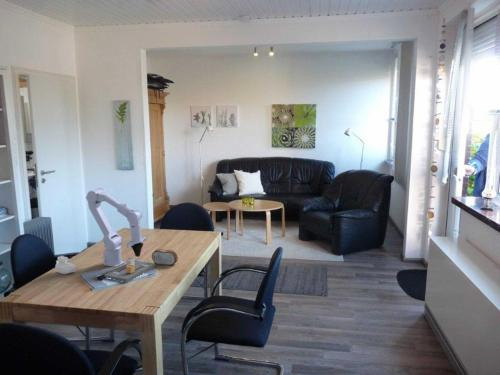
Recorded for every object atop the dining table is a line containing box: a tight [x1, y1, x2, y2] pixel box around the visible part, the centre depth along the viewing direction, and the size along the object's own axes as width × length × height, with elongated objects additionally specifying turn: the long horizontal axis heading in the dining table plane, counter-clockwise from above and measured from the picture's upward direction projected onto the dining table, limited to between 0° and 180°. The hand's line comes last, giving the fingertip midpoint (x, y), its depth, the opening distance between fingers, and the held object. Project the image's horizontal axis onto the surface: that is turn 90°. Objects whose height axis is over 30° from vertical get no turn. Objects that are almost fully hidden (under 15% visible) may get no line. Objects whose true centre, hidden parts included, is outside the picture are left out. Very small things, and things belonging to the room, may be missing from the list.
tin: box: [151, 248, 179, 266], centre depth 229 cm, size 15×3×8 cm, turn 74°
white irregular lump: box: [55, 255, 77, 275], centre depth 218 cm, size 12×8×11 cm
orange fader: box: [126, 264, 135, 273], centre depth 212 cm, size 3×3×4 cm
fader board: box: [103, 259, 157, 284], centre depth 218 cm, size 15×23×2 cm, turn 155°
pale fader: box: [125, 257, 135, 265], centre depth 223 cm, size 3×3×4 cm
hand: (137, 256), depth 228 cm, fingers closed
